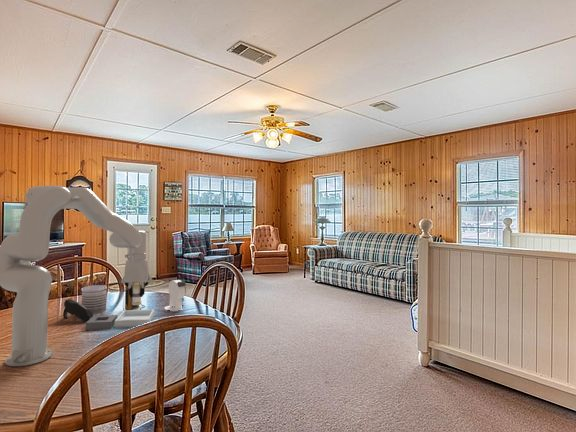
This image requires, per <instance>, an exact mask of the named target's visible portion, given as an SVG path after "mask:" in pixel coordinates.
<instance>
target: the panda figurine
mask: <svg viewBox="0 0 576 432" xmlns="http://www.w3.org/2000/svg"><path fill="white" fill-rule="evenodd" d="M186 284H187V283H186V281H185V280H183V281H182V280H181V279H177V278H175V277H174V278H170V279H168V294H169V305H167V306H164V311H167V310H170V311H169V312H179V311H178V310H181V311H184V310H183V309H182V305H183V302H184V301H185V300H184V297H185V294H186V293H187V290H186ZM172 306H173V309H171V308H172ZM174 306H175V308H174Z"/></svg>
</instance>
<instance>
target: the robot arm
mask: <svg viewBox="0 0 576 432" xmlns="http://www.w3.org/2000/svg"><path fill="white" fill-rule="evenodd" d="M24 199H25V201H26V204H27V205H25V207H24V209H23V210H22V213H21V216H20V221H19V227H18V232H14V233H11V234H9V235H7V236H6V237H5V238H4V239H3V240H2V242H1V244H0V287H1V288H2V289H4V290H6V291H9V292H13V293H16V296H15V299H14V301H13V305H12V312H11V313H12V316H11V317H12V321H11V326H12V327H11V355H8V356H7V357H6V358H5V365H7V366H9V367H25V366H31V365H35V364H39V363H41V362H43V361H47V360H48V359H50V358H51V357H52V356H53V350H52V349H50V348H48V322H49V321H48V318H49V317H48V316H49V315H48V314H49V313H48V311H49V310H48V309H49V308H48V306H49V295H50V290H51V287H52V283H53V282H52V281H53V280H52V279H53V278H52V274H51V273H50V271H49V270H48V269H47V268H45V267H43V266H41V265H35V264H31V262H38V261H42V260H44V259H45V258H46V257H47V256H48V254H49V251H50V250H49V249H50V237H51V225H52V220H53V219H54V216H55V215H56V214H57V213H58V212H59V211H60V210H71V209H72V210H77V211H79V212H80V213H81V214H82V216H84V217H85V218H86V219H88V221H89V222H91V224H92V225H93V226H95V227H97V228H100V229H102V230H105V231H109V232H110V233H111V234H110V236H109V239H108V241H109V243H110V244H111V246H113V247H114V248H121V249H124V248H125V249H128V253H127V254H124V258H126V259H127V260H125V264H124V265H125V267H124V274H123V275H124V276H123V277H122V279H121V280H120V283H121V284H122V285H124V286H125V287H126V286H127V287H128V289H129V295H130V297H132V293H133V288H132V284H133V282H134V283H139V282H140V284H141V289H140V297H141V298H143V297H144V295H145V288H146V287H147V286H148V285H149V284H151V283H153V282H154V280H153V278H152V277H151V275H150V269H149V261H148V259H147V231H145V230H138V229H137V228H136V227H135V226H134V224H132V223H131V222H130V221H128V220H127V219H126V218H123V217H122V216H120V215H119V214H117V213H115V212H113V211H112V210H111V209H110V208H109V207H108V206H107V205H106V204H105V203H104V202H103V200H101V199H100V197H98V196H97V194H95V192H94V191H92V190H91V189H90V188H87V187H65V186H63V185H62V186H61V185H39V186H38V185H37V186H33V187H30V188H29V189H28V190H27V191H26V193H25V197H24Z"/></svg>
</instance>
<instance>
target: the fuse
mask: <svg viewBox="0 0 576 432" xmlns="http://www.w3.org/2000/svg"><path fill="white" fill-rule="evenodd" d="M132 288H133V293H132V305H139V306H140V305H141V304H142V297H140V289H141V283H140V284H133V285H132Z"/></svg>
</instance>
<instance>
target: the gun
mask: <svg viewBox="0 0 576 432" xmlns="http://www.w3.org/2000/svg"><path fill="white" fill-rule="evenodd" d="M63 307H64V309H63V313H62V317H63V319H64V320H67V319H68V314H70V315H71V316H73V315H74V316H75V317H77V318H78V319H79V320H81V321H82V322H84V323H86V322H87V321H88V320H90V319H91V318H92V317H93V316H94V314H92V312H91V311H90V310H88V309H87V308H86V307H84V306H83V305H82V303H80V302H78V301H75V300H73V299H71V298H68V299H65V300H64V303H63Z"/></svg>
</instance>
